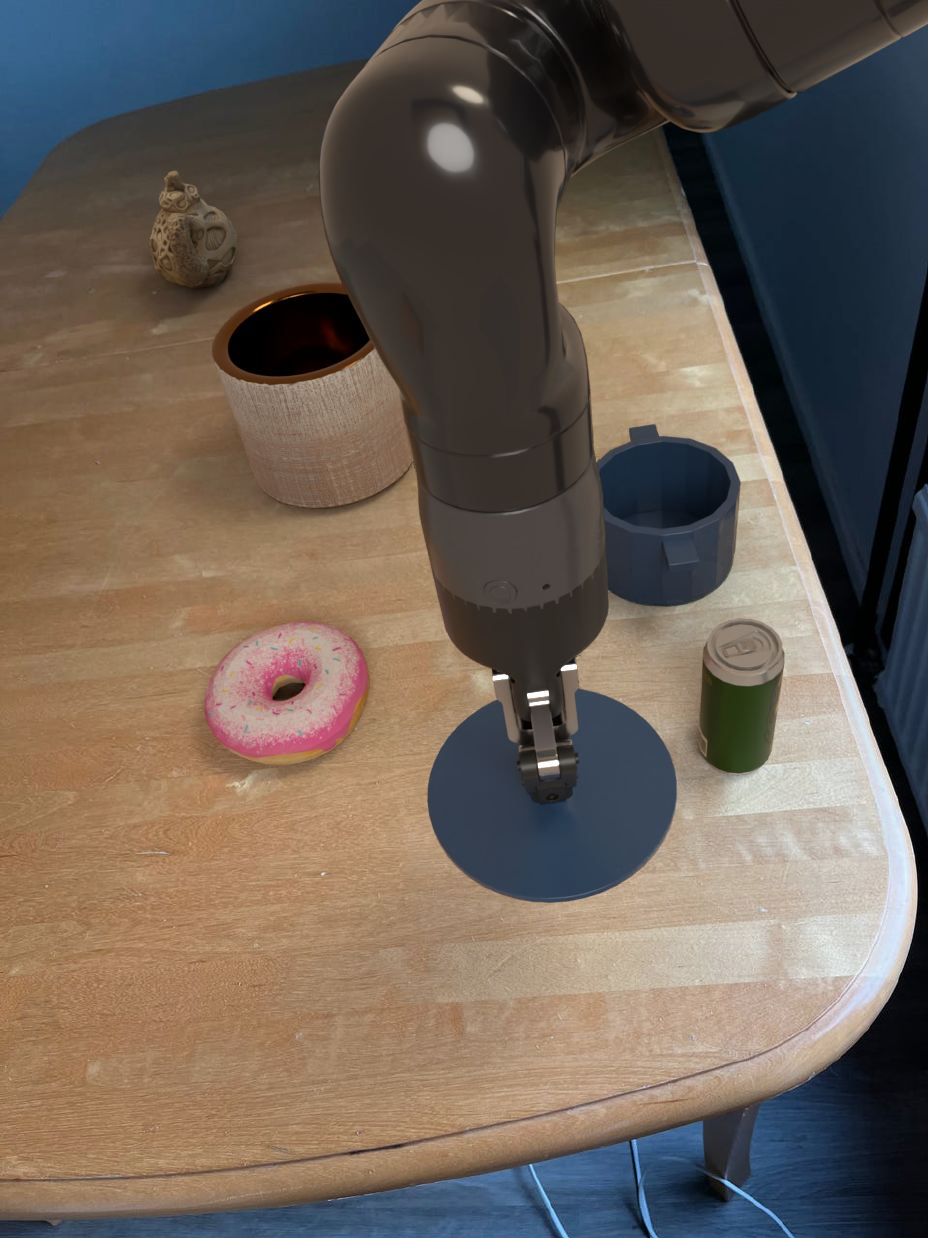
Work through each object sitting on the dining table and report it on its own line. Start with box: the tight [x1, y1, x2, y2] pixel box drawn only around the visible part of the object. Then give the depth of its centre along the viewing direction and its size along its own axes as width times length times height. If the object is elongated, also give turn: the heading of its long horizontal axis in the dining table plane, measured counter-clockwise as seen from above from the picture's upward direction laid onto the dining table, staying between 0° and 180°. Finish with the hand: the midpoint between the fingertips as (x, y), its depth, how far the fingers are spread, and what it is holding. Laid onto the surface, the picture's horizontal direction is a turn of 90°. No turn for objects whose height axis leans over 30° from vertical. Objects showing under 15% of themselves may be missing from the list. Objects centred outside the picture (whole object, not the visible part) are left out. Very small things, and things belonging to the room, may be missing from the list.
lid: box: [426, 688, 678, 904], centre depth 55 cm, size 14×14×6 cm
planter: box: [211, 281, 414, 510], centre depth 102 cm, size 18×18×16 cm
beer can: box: [697, 617, 786, 777], centre depth 73 cm, size 5×5×12 cm
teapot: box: [148, 170, 239, 290], centre depth 133 cm, size 21×12×15 cm, turn 13°
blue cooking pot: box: [596, 423, 742, 608], centre depth 89 cm, size 13×18×8 cm
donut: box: [204, 621, 371, 766], centre depth 84 cm, size 14×13×5 cm
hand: (548, 769), depth 56 cm, fingers closed on lid, 2 cm apart
